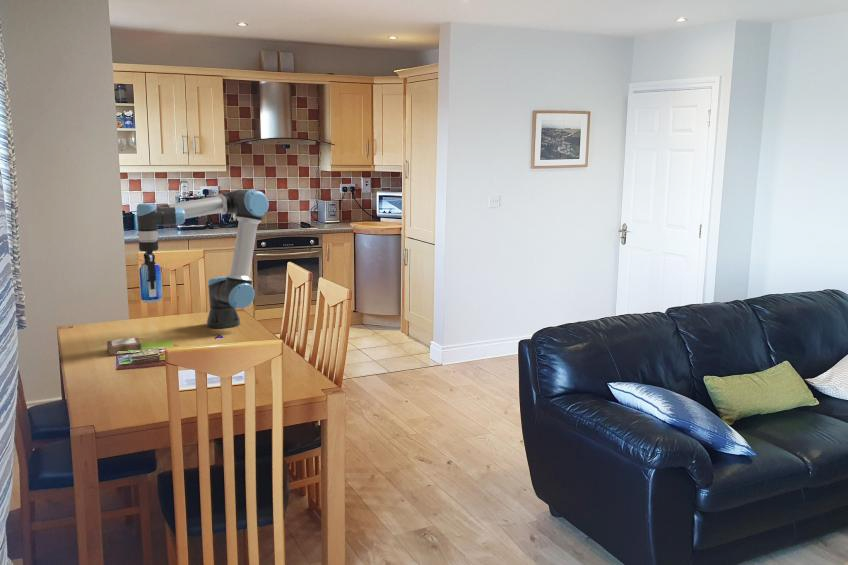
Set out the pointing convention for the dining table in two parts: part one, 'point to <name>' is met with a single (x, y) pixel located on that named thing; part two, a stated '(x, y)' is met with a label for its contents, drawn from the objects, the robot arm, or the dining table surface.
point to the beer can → (145, 285)
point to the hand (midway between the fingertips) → (151, 294)
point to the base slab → (123, 345)
